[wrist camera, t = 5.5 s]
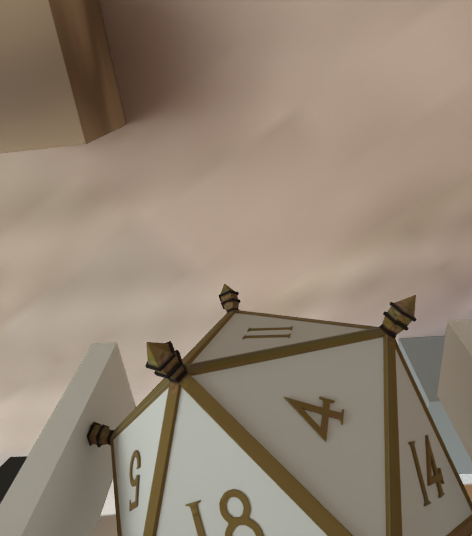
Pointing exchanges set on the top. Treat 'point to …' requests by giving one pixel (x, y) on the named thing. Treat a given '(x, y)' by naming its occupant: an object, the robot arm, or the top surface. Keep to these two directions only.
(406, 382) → the game die
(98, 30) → the walnut cube
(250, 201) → the top surface
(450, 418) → the robot arm
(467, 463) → the slate grey cube
